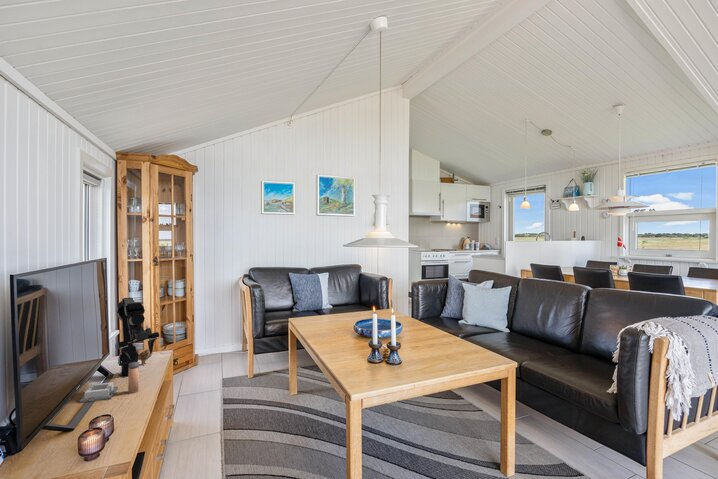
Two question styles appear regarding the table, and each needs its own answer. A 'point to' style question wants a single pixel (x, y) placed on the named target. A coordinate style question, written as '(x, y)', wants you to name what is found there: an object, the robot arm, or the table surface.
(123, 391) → the table surface
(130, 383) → the peg
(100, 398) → the socket block
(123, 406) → the table surface
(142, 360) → the lion figurine
